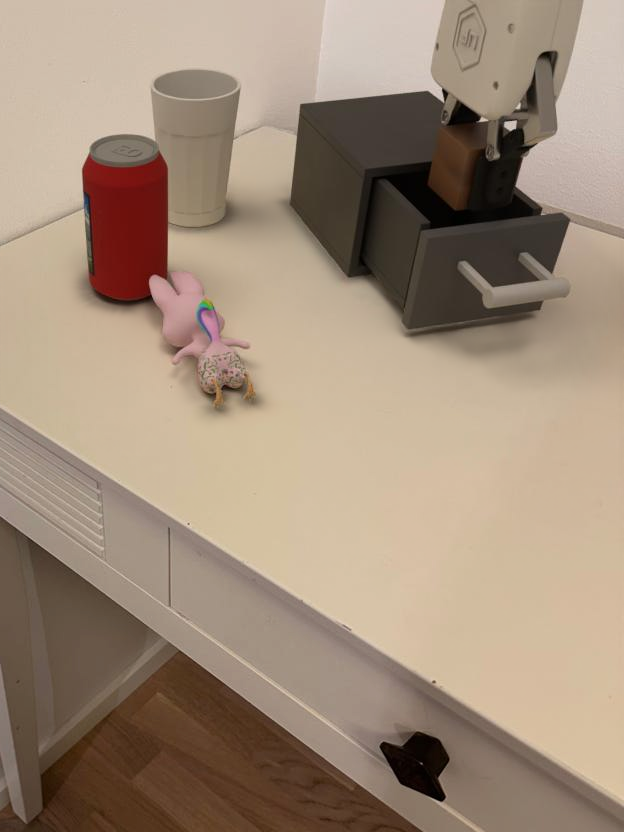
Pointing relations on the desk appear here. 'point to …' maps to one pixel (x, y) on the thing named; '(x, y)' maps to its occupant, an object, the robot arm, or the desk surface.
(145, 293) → the beverage can
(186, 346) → the rabbit figure
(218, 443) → the desk surface
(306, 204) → the cabinet
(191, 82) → the cup
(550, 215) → the drawer
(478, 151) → the block
